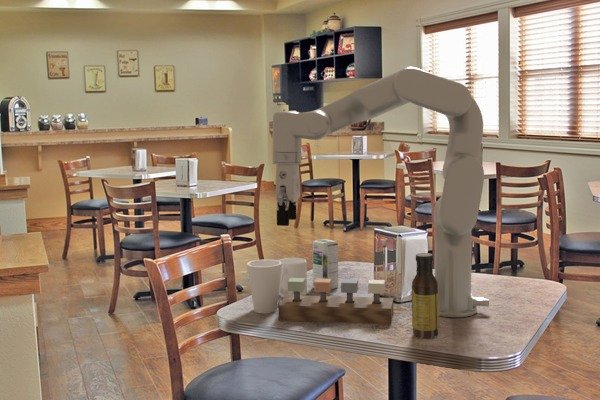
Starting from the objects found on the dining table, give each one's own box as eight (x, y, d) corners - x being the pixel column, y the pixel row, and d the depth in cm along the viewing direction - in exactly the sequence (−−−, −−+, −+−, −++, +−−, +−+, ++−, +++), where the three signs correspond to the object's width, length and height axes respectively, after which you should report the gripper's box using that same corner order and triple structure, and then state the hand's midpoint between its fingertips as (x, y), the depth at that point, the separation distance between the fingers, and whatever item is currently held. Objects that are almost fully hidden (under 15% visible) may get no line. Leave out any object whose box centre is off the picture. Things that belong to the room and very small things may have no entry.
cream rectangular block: (384, 304, 195) (384, 280, 194) (384, 308, 192) (383, 283, 191) (369, 304, 196) (369, 279, 195) (368, 308, 192) (368, 283, 191)
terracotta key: (331, 303, 198) (331, 278, 197) (329, 307, 194) (329, 282, 193) (316, 302, 199) (316, 278, 198) (314, 306, 195) (314, 282, 194)
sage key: (305, 302, 199) (305, 278, 198) (303, 306, 195) (302, 281, 194) (291, 301, 200) (290, 277, 199) (288, 306, 196) (287, 281, 195)
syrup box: (312, 288, 226) (311, 240, 224) (326, 284, 230) (325, 238, 228) (325, 291, 221) (324, 243, 219) (339, 287, 225) (338, 240, 223)
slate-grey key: (358, 303, 197) (358, 279, 196) (356, 308, 193) (356, 283, 192) (343, 303, 197) (342, 279, 196) (341, 307, 193) (341, 282, 193)
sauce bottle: (423, 329, 184) (423, 250, 181) (443, 335, 179) (444, 253, 177) (406, 335, 179) (406, 254, 177) (427, 341, 175) (427, 258, 172)
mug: (291, 303, 209) (290, 267, 208) (266, 300, 213) (265, 264, 212) (312, 293, 219) (311, 259, 218) (287, 290, 224) (287, 256, 222)
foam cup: (245, 314, 200) (243, 266, 198) (251, 304, 209) (250, 259, 207) (280, 315, 198) (278, 267, 196) (285, 305, 207) (284, 259, 206)
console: (393, 312, 198) (393, 298, 198) (391, 324, 189) (391, 308, 188) (286, 309, 203) (285, 295, 203) (278, 320, 194) (278, 305, 193)
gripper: (294, 161, 188) (294, 228, 190) (306, 156, 205) (306, 217, 207) (265, 160, 189) (265, 227, 192) (280, 155, 206) (280, 216, 208)
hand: (286, 222), depth 199 cm, fingers open, 9 cm apart
